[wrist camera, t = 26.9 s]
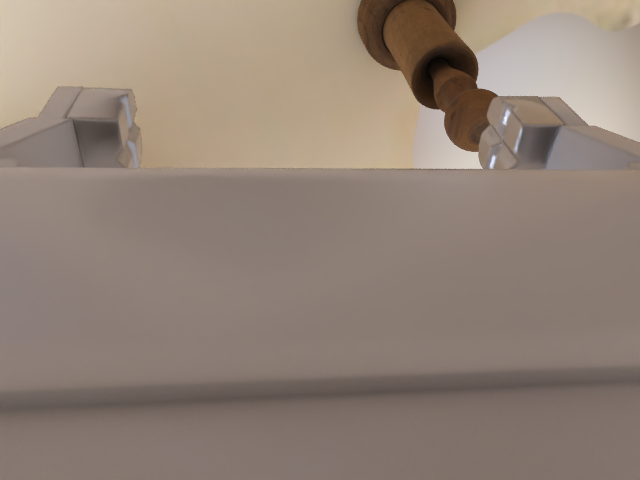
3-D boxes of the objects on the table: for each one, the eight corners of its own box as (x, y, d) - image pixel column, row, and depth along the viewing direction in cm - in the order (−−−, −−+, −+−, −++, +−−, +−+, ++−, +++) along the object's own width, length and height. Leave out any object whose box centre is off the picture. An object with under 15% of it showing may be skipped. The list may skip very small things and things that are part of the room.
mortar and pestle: (373, 73, 43) (434, 209, 29) (344, -9, 39) (398, 102, 25) (456, 38, 42) (562, 161, 28) (435, -50, 38) (545, 42, 24)
